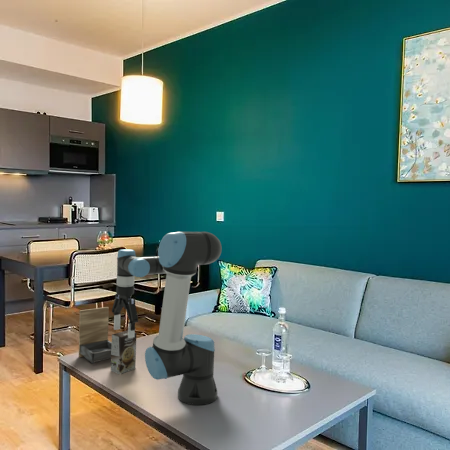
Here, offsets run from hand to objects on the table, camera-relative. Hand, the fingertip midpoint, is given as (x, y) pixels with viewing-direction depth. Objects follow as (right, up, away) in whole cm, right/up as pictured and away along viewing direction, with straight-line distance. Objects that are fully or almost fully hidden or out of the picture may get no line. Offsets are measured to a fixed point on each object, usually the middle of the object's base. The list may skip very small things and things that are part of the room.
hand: (123, 333), depth 192 cm
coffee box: (0, -16, +1) cm, 16 cm away
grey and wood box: (-14, -15, +12) cm, 24 cm away
